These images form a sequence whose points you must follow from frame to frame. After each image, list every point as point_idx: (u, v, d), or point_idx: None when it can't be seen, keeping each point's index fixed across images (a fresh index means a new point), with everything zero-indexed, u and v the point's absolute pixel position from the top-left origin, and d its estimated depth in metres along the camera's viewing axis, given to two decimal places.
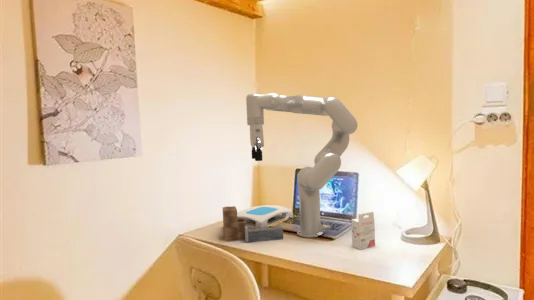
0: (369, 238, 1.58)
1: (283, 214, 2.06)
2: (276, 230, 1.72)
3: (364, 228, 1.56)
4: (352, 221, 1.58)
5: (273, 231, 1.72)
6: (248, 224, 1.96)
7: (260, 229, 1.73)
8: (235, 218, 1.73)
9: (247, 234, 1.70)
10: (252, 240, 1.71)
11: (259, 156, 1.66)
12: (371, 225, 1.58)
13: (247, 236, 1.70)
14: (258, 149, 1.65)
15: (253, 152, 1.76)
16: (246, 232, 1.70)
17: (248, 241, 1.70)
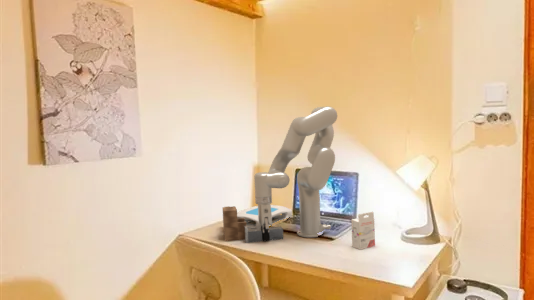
0: (369, 238, 1.58)
1: (283, 214, 2.06)
2: (276, 230, 1.72)
3: (364, 228, 1.56)
4: (352, 221, 1.58)
5: (273, 231, 1.72)
6: (248, 224, 1.96)
7: (260, 229, 1.73)
8: (235, 218, 1.73)
9: (247, 234, 1.70)
10: (252, 240, 1.71)
11: (266, 237, 1.70)
12: (371, 225, 1.58)
13: (247, 236, 1.70)
14: (265, 231, 1.69)
15: None
16: (246, 232, 1.70)
17: (248, 241, 1.70)
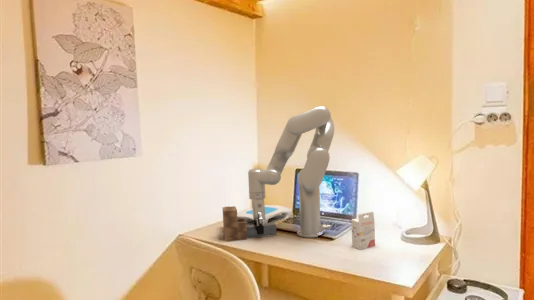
0: (369, 238, 1.58)
1: (283, 214, 2.06)
2: (270, 226, 1.79)
3: (364, 228, 1.56)
4: (352, 221, 1.58)
5: (266, 228, 1.79)
6: (248, 224, 1.96)
7: (254, 225, 1.79)
8: (235, 218, 1.73)
9: None
10: None
11: (261, 230, 1.74)
12: (371, 225, 1.58)
13: None
14: (260, 224, 1.73)
15: (255, 222, 1.84)
16: None
17: None
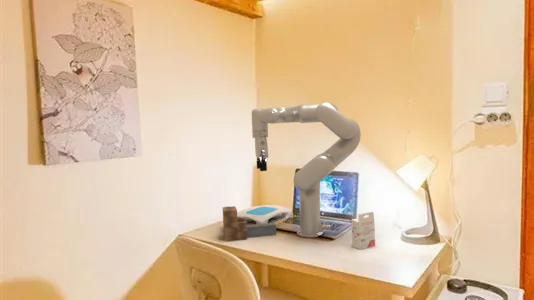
0: (369, 238, 1.58)
1: (283, 214, 2.06)
2: (270, 226, 1.79)
3: (364, 228, 1.56)
4: (352, 221, 1.58)
5: (266, 228, 1.79)
6: (248, 224, 1.96)
7: (254, 225, 1.79)
8: (235, 218, 1.73)
9: None
10: None
11: (264, 167, 1.79)
12: (371, 225, 1.58)
13: None
14: (263, 160, 1.78)
15: (258, 162, 1.89)
16: None
17: None
